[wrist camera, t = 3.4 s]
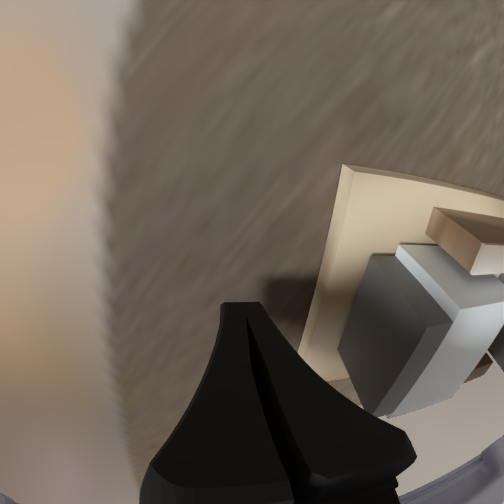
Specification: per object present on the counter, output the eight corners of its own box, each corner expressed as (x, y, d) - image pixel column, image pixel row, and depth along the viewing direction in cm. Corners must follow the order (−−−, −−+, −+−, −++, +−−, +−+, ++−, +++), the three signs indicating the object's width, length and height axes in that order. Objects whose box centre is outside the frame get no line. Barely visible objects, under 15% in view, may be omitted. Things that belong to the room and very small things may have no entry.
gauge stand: (465, 339, 18) (518, 416, 11) (291, 370, 16) (332, 505, 9) (527, 204, 13) (616, 272, 6) (342, 163, 10) (518, 304, 3)
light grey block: (429, 340, 15) (463, 392, 11) (334, 355, 14) (363, 425, 10) (489, 205, 11) (550, 248, 7) (388, 187, 10) (465, 242, 6)
